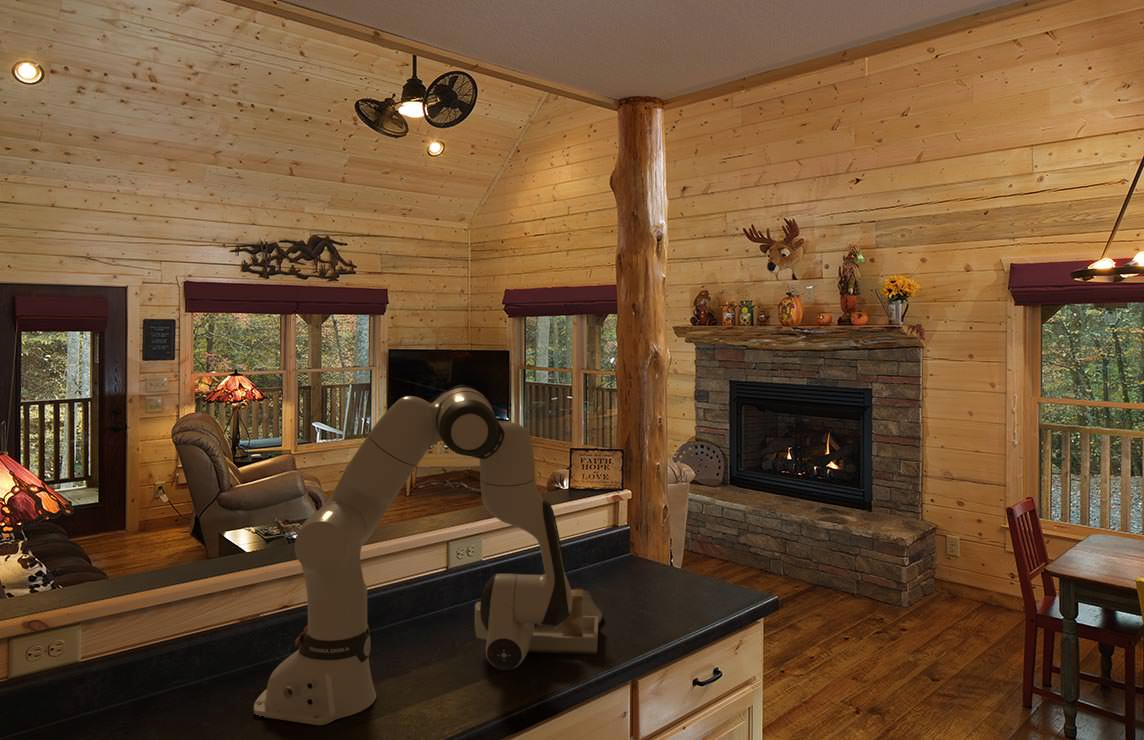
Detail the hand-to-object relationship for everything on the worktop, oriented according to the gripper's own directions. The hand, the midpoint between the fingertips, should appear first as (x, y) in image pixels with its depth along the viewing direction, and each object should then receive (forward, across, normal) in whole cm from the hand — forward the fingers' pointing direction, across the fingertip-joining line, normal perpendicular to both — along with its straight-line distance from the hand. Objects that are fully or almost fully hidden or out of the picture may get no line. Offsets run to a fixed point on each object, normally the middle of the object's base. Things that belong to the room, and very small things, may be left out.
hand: (522, 602), depth 178 cm
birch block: (-1, -12, +8) cm, 14 cm away
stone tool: (+17, -10, +9) cm, 22 cm away
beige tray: (-1, -6, +8) cm, 10 cm away
